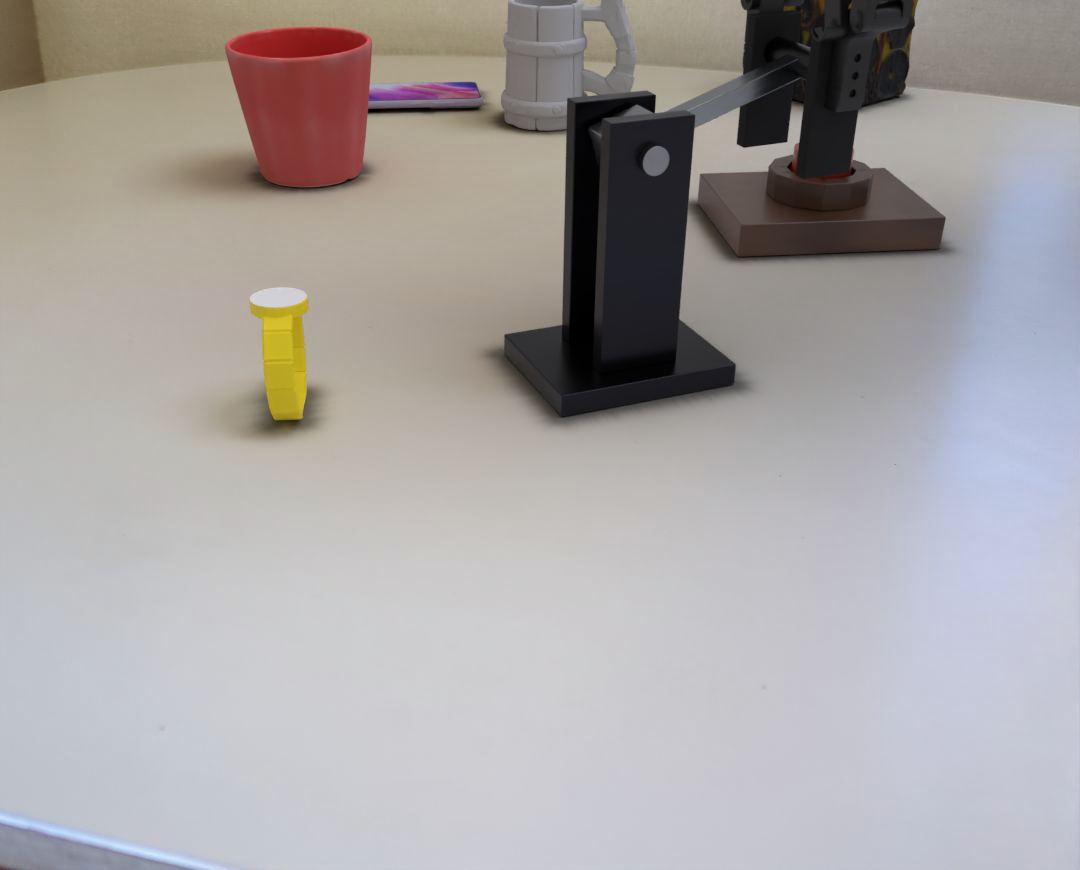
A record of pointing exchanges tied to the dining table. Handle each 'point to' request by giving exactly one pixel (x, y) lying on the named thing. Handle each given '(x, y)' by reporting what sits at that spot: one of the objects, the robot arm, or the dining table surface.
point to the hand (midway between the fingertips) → (791, 156)
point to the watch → (283, 349)
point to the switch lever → (734, 87)
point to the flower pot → (304, 101)
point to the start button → (793, 169)
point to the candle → (884, 62)
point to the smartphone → (425, 95)
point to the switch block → (818, 212)
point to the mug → (559, 59)
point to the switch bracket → (622, 266)
